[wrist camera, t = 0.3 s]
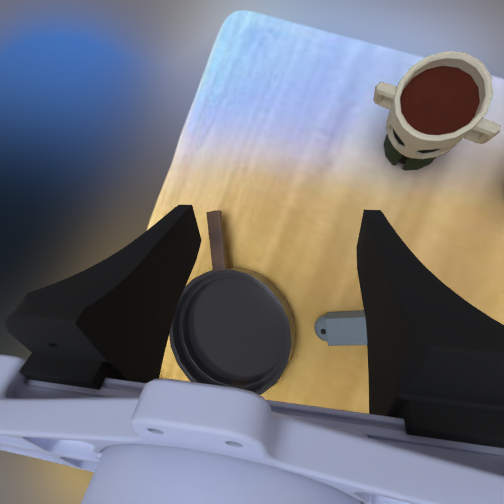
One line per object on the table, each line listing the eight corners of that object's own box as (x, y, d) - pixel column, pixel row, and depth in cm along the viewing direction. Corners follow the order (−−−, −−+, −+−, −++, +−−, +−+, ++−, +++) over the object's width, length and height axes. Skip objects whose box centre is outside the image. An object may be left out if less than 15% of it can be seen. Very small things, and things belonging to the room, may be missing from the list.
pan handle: (228, 270, 42) (225, 270, 41) (216, 271, 43) (212, 272, 42) (221, 211, 42) (218, 210, 41) (209, 212, 43) (206, 212, 42)
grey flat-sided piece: (413, 305, 38) (420, 311, 34) (417, 336, 38) (424, 346, 34) (314, 310, 42) (311, 316, 38) (318, 339, 41) (314, 348, 38)
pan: (302, 389, 42) (298, 402, 39) (188, 387, 47) (176, 398, 44) (288, 261, 42) (282, 263, 39) (175, 273, 48) (162, 275, 44)
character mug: (354, 154, 40) (356, 113, 27) (383, 99, 38) (400, 31, 26) (440, 191, 37) (486, 165, 24) (475, 134, 36) (541, 76, 23)
